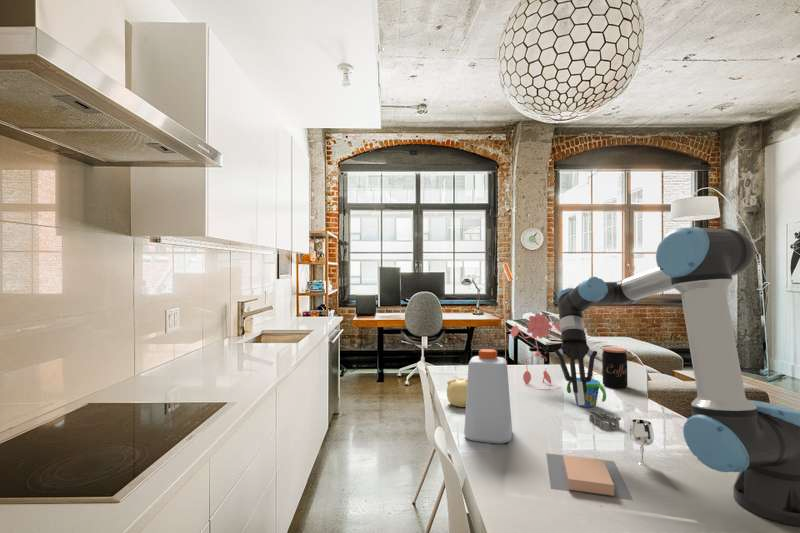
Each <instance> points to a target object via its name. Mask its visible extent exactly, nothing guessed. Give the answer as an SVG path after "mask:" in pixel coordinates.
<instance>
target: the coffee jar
mask: <svg viewBox="0 0 800 533" xmlns="http://www.w3.org/2000/svg"><path fill="white" fill-rule="evenodd" d="M601 350H602V352H601V353H602V355H601V358H602V360H601V361H602V384H603V387H604V388H605V387H606V388H609V389H614V390H624V389H627V387H628V355H627V352H628V349H626V348H623V347H617V346H616V347H615V346H604V347H602V348H601Z"/></svg>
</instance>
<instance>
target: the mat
mask: <svg viewBox="0 0 800 533" xmlns="http://www.w3.org/2000/svg"><path fill="white" fill-rule="evenodd" d="M545 455H546V460H547V461H546V462H547V468H548V470H547V471H548V478H549V483H550V489H552V490H559V491H565V492H566V491H567V492H572V493H573V492H574V493H579V494H580V493H581V494H586V495H593V496H601V497H609V498H616V499H623V500H631V501H634V499H633V496H632V495H631V492H630V491H629V488H628V487H627V485H626V482H625V481H624V478H623V477H622V474H621V472H620V470H619V468H618V466H617V464H616V462H615V461H614V460H606V459H602V460H603V461H604V463H605V465H606V468H607V470H608V472H609V474H610V477H611V479H612V481H613V484H614V496H613V495H606V494H598V493H591V492H584V491H577V490H569V489H568V485H567V480H566V475H565V471H564V466H563V455H564V454H556V453H555V454H554V453H548V452H547V453H546V454H545Z"/></svg>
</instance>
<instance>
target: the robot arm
mask: <svg viewBox="0 0 800 533" xmlns="http://www.w3.org/2000/svg"><path fill="white" fill-rule="evenodd" d="M755 257H756V250H755V245H754V243H753V241H752V240H751V238H749V236H747V235H746V234H744V233H742V232H741V231H739V230H735V229H730V228H713V227H711V228H710V227H709V228H708V227H698V226H690V227H680V228H676V229H673V230H671V231H670V232H668V233H667V234H666V235H664V236H663V238H662V240H661V241H660V242H659V243H658V245H657V249H656V253H655V261H656V266H655V267H651V268H649V269H648V270H645V271H642V272H639V273H637V274H633V275H631V276H628V277H625V278H624V279H622V280H618V281H604V280H603V279H602V278H599V277H597V276H589V277H587V278H586V279H585V280H583V281H581V283H579V284H578V285H577V286H575V287H574V288H573V287H567V288H566V287H565V288H564V289H561V290H559V291H558V292H557V309H558V310H557V311H558V318H559V325H560V328H561V332H562V333H561V332H560V336H561V346H560V348H559V349H556V350H555V351H554V356H555V357H556V359H557V360H558V362H559V365H560V368H561V371H562V373H563V376H564V379H565V381H566V382H569V381H570V382H571V385H572V392H573V393H577V398H578V405H584V403H585V401H584V394H586V392H587V387H586V383H587V382H590V381H591V379H593V371H594V365H595V364H594V363H595V359H596V357H597V355H598V352H597V350H591V349H590V346H589V345H588V342H587V336H586V335H587V334H586V332H585V331H586V329H585V323H584V314H583V313H584V312H585V310H588V308H590V307H591V306H601V305H602V306H603V305H605V306H607V305H609V306H610V305H623V306H627V305H633V304H636V303H637V302H638V301H639V300H640V299H643V298H647V297H650V296H653V295H657V294H661V293H664V292H667V291H670V290H673V289H675V290H676V291H678V292H679V293H680V297H681V303H682V310H683V315H684V320H685V328H686V333H687V339H688V346H689V352H690V357H691V365H692V371H693V376H694V380H695V387H696V394H697V396H696V397H695V399H693V401H691V403H690V405H691V412H692V415H691V416H690V417H688V418H687V419H686V422H684V424H683V428H682V429H683V430H682V432H683V433H682V434H683V437H684V441H685V443H686V446H687V448H688V449H689V450H690V452H691V454H692V455H693V456H694V457H696V458H697V459H698V461H700V463H702V465H705V466H706V467H707V468H710V469H711V470H714V471H716V472H720V473H738V475H737V478H736V479H735V481H734V484H733V487H732V488H733V491H732V493H733V494H732V496H733V498H734V500H735V502H736V503H737V504H738V505H740V506H741V507H743V508H744V509H746V510H748V511H749V512H751V513H753V514H755V515H757V516H761V517H762V518H765V519H768V520H770V521H774V522H777V523H781V524H784V525H788V526H789V525H790V526H793V527H795V526H796V527H800V410H798V409H795V408H793V407H792V408H791V407H788V406H784V405H780V404H775V403H771V402H765V401H759V400H754V399H753V400H751V399H748V398H747V397H746V390H745V385H744V381H743V376H742V370H741V365H740V361H739V360H740V359H739V354H738V353H739V352H738V349H737V343H736V339H735V333H734V328H733V322H732V316H731V311H730V306H729V305H730V304H729V300H728V295H727V288H728V286H730V284H731V283H732V282H733V276H736V275H739V274H742V273H743V272H745V271H746V270H748V269H749V268H750V266H752V264H753V262H754V260H755ZM586 355H588V357H589V360H588V365H587V366H588V367H587V374H586V371H585V364H584V363H585V362H584V358H585V357H586ZM564 356H566V357H567V359H568V360H569V361H568V362H569V367H570V368H569V369H570V372H569V369H568V367H567V365H566V361H565V359H564ZM576 360H577V364H578V372H579V378H580V381H577V378H578V377H577V368H576ZM578 405H577V406H578Z"/></svg>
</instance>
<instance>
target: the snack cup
mask: <svg viewBox="0 0 800 533" xmlns="http://www.w3.org/2000/svg"><path fill="white" fill-rule="evenodd" d="M577 381H580V377H577ZM571 385H572V383H571V382H570V381H567V386H566V392H567V393H568V394H570V393H572V388H571ZM586 387H587V392H586V394H584V401H585V403H584V405H578V398H577V393H574V392H573V393H574V400H575V404H576V405H577V406H579V407H583V408H586V409H587V408H588V409H589V408H590V409H591V408H596V406H597V401H598V397H599V396H598V395H599V389H600V391H601V392H602V400H601V401H602V402H603V403H604V402H606V400H607V392H606V389H605V386H604V385H602V384H601V381H599V380H597V379H595V378H592V379H591V381H590V382H587V383H586Z"/></svg>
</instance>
